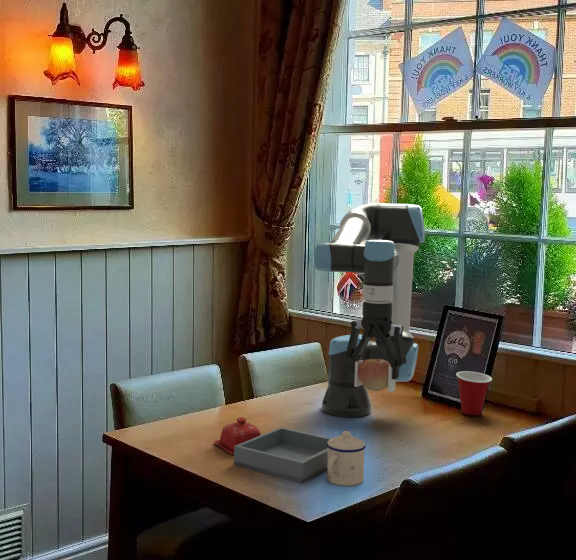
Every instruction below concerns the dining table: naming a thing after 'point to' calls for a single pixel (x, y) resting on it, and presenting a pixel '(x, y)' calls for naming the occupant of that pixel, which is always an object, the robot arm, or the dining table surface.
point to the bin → (284, 454)
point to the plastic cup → (472, 391)
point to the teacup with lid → (345, 460)
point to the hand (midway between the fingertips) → (374, 388)
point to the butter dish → (237, 434)
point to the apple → (374, 374)
